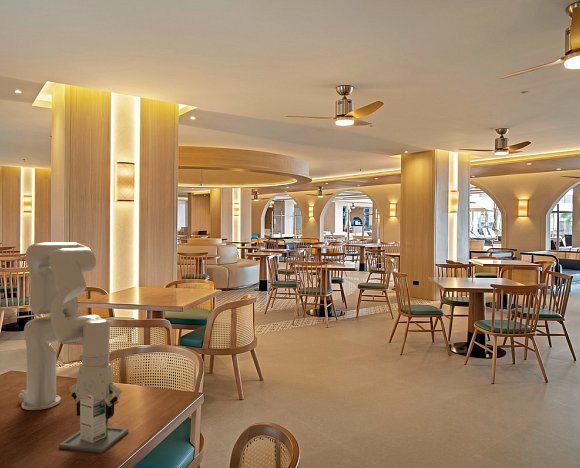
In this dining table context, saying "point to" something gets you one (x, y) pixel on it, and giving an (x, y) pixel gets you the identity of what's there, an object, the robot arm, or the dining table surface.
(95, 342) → the robot arm
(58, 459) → the dining table surface
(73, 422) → the dining table surface
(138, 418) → the dining table surface
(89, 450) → the slate tray
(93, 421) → the syrup box
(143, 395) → the dining table surface
